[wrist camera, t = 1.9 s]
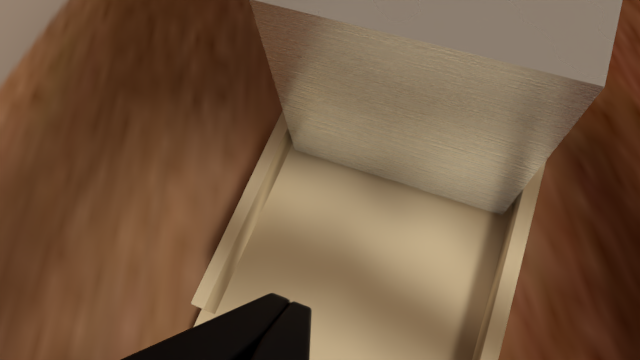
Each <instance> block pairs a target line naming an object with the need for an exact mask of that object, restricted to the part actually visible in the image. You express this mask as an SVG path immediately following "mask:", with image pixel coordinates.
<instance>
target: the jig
mask: <svg viewBox="0 0 640 360" xmlns="http://www.w3.org/2000/svg"><path fill="white" fill-rule="evenodd" d="M545 163H546V161H545V162H544V163H543V165H542V166H541V167H540V168H539V170H538V171H537V172H536V173H535V175H534V176H533V177H532V178H531V180H530V181H529V182H528V183H527V185H526V186H525V187H524V188H523V190H522V191H521V192H520V193H519V195H518V196H517V197H516V198H515V200H514V201H513V202H512V203H511V205H510V206H509V207H508V208H507V210H506V211H505V212H504V213H503V215H499V214H496V213H493V212H490V211H487V210H484V209H481V208H477V207H474V206H471V205H468V204H465V203H462V202H458V201H455V200H452V199H449V198H446V197H443V196H440V195H436V194H433V193H430V192H427V191H424V190H421V189H417V188H414V187H411V186H408V185H405V184H402V183H398V182H395V181H392V180H389V179H386V178H383V177H380V176H376V175H373V174H370V173H367V172H364V171H361V170H357V169H354V168H351V167H348V166H345V165H342V164H339V163H335V162H332V161H329V160H326V159H323V158H320V157H316V156H313V155H310V154H307V153H304V152H301V151H297V150H295V149H294V145H293V142H292V139H291V135H290V132H289V129H288V126H287V122H286V119H285V116H284V112H283V111H282V113H281V115H280V117H279V119H278V121H277V123H276V125H275V127H274V129H273V132H272V134H271V136H270V138H269V140H268V142H267V144H266V146H265V148H264V151H263V153H262V155H261V157H260V159H259V161H258V163H257V165H256V167H255V169H254V172H253V174H252V176H251V178H250V180H249V182H248V184H247V186H246V188H245V190H244V193H243V195H242V197H241V199H240V201H239V203H238V205H237V207H236V209H235V211H234V214H233V216H232V218H231V220H230V222H229V224H228V226H227V228H226V230H225V233H224V235H223V237H222V239H221V241H220V243H219V245H218V247H217V249H216V251H215V254H214V256H213V258H212V260H211V262H210V264H209V266H208V268H207V270H206V272H205V275H204V277H203V279H202V281H201V283H200V285H199V287H198V289H197V291H196V294H195V296H194V298H193V300H192V302H191V304H193V305H195V306H197V307H199V308H201V309H202V310H201V312H200V314H199V316H198V318H197V320H196V323H195V325H194V327H195V326H197V325H199V324H202V323H204V322H206V321H208V320H211V319H213V318H215V317H217V316H220V315H222V314H224V313H226V312H229V311H231V310H233V309H235V308H237V307H240V306H242V305H244V304H246V303H249V302H251V301H253V300H255V299H258V298H260V297H262V296H264V295H267V294H269V293H275V294H278V295H280V296H283V297H285V298H288V299H289V300H290V302H293V301H295V302H298V303H301V304H303V305H306V306H308V307H310V308H311V310H312V317H311V337H310V358H309V360H498V358H499V354H500V350H501V346H502V341H503V337H504V333H505V329H506V325H507V321H508V317H509V312H510V308H511V304H512V300H513V296H514V292H515V288H516V283H517V279H518V275H519V271H520V267H521V263H522V259H523V254H524V250H525V246H526V242H527V238H528V234H529V230H530V225H531V221H532V217H533V213H534V209H535V205H536V201H537V196H538V192H539V188H540V184H541V180H542V176H543V172H544V168H545Z"/></svg>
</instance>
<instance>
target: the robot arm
mask: <svg viewBox="0 0 640 360" xmlns="http://www.w3.org/2000/svg"><path fill="white" fill-rule="evenodd" d="M311 317H312V310H311V308H310V307H308V306H306V305H303V304H301V303H298V302H295V301H293V302H290V300H289V299H288V298H285V297H283V296H280V295H278V294H275V293H269V294H267V295H264V296H262V297H260V298H258V299H255V300H253V301H251V302H249V303H246V304H244V305H242V306H240V307H237V308H235V309H233V310H231V311H229V312H226V313H224V314H222V315H220V316H217V317H215V318H213V319H211V320H208V321H206V322H204V323H202V324H199V325H197V326H195V327H193V328H190V329H188V330H186V331H184V332H181V333H179V334H177V335H175V336H172V337H170V338H168V339H166V340H164V341H161V342H159V343H157V344H155V345H152V346H150V347H148V348H146V349H143V350H141V351H139V352H137V353H134V354H132V355H130V356H128V357H125V358H123V359H121V360H309V358H310V337H311Z"/></svg>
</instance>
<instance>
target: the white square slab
mask: <svg viewBox="0 0 640 360" xmlns="http://www.w3.org/2000/svg"><path fill="white" fill-rule="evenodd" d="M249 1H250V4H251V7H252V11H253V14H254V17H255V20H256V24H257V27H258V30H259V34H260V37H261V40H262V43H263V47H264V50H265V53H266V57H267V60H268V63H269V66H270V70H271V73H272V76H273V80H274V83H275V86H276V89H277V93H278V96H279V99H280V103H281V106H282V109H283V112H284V116H285V119H286V122H287V126H288V129H289V132H290V135H291V139H292V142H293V145H294V149H295V150H297V151H301V152H304V153H307V154H310V155H313V156H316V157H320V158H323V159H326V160H329V161H332V162H335V163H339V164H342V165H345V166H348V167H351V168H354V169H357V170H361V171H364V172H367V173H370V174H373V175H376V176H380V177H383V178H386V179H389V180H392V181H395V182H398V183H402V184H405V185H408V186H411V187H414V188H417V189H421V190H424V191H427V192H430V193H433V194H436V195H440V196H443V197H446V198H449V199H452V200H455V201H458V202H462V203H465V204H468V205H471V206H474V207H477V208H481V209H484V210H487V211H490V212H493V213H496V214H499V215H503V213H504V212H505V211H506V210H507V208H508V207H509V206H510V205H511V203H512V202H513V201H514V200H515V198H516V197H517V196H518V195H519V193H520V192H521V191H522V190H523V188H524V187H525V186H526V185H527V183H528V182H529V181H530V180H531V178H532V177H533V176H534V175H535V173H536V172H537V171H538V170H539V168H540V167H541V166H542V165H543V163H544V162H545V161H546V160H547V158H548V157H549V156H550V155H551V153H552V152H553V151H554V149H555V148H556V147H557V146H558V144H559V143H560V142H561V141H562V139H563V138H564V137H565V136H566V134H567V133H568V132H569V131H570V129H571V128H572V127H573V126H574V124H575V123H576V122H577V121H578V119H579V118H580V117H581V116H582V114H583V113H584V112H585V111H586V109H587V108H588V107H589V106H590V104H591V103H592V102H593V101H594V99H595V98H596V97H597V96H598V94H599V93H600V92H601V91H602V89H603V88H604V87H605V82H606V77H607V72H608V68H609V63H610V58H611V53H612V48H613V43H614V38H615V34H616V29H617V24H618V19H619V14H620V9H621V5H622V0H249Z"/></svg>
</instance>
